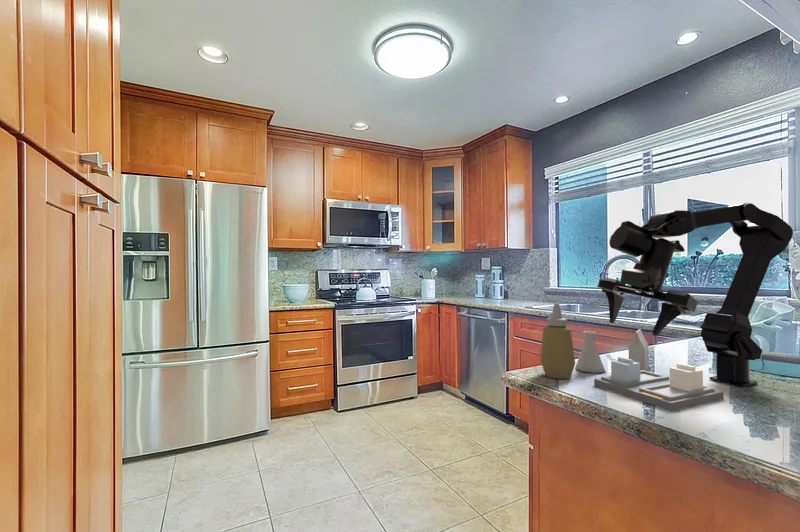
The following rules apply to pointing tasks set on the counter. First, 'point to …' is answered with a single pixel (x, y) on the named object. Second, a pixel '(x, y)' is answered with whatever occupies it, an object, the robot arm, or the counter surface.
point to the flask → (589, 355)
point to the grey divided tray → (659, 391)
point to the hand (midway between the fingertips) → (631, 328)
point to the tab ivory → (686, 377)
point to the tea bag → (639, 350)
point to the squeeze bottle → (557, 347)
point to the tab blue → (625, 370)
